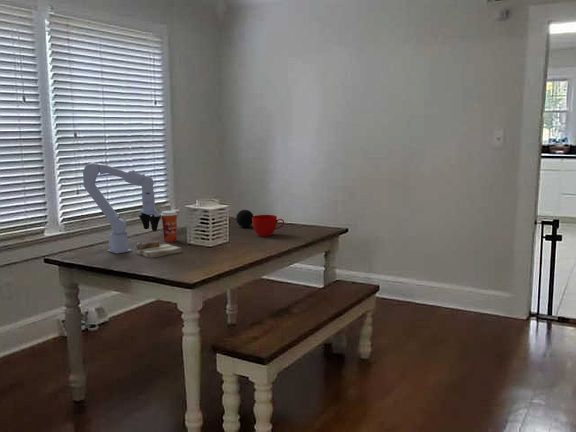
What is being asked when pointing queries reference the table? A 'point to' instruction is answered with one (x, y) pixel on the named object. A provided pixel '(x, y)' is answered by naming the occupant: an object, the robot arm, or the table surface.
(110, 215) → the robot arm
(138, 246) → the folding leg
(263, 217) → the ceramic cup
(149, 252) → the cream flat block
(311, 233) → the table surface
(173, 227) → the coffee cup
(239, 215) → the decorative ball
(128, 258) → the table surface
